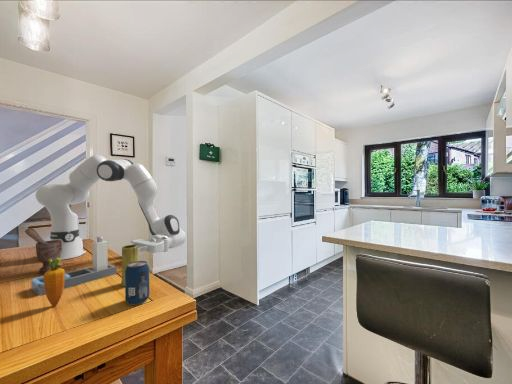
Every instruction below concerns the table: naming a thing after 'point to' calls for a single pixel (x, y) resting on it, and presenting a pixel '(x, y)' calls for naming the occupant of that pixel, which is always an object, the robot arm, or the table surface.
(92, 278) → the ladder grid frame
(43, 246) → the mortar and pestle
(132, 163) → the robot arm
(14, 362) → the table surface
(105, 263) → the capped white pillar
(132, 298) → the soda can
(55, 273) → the carrot
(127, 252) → the vase
